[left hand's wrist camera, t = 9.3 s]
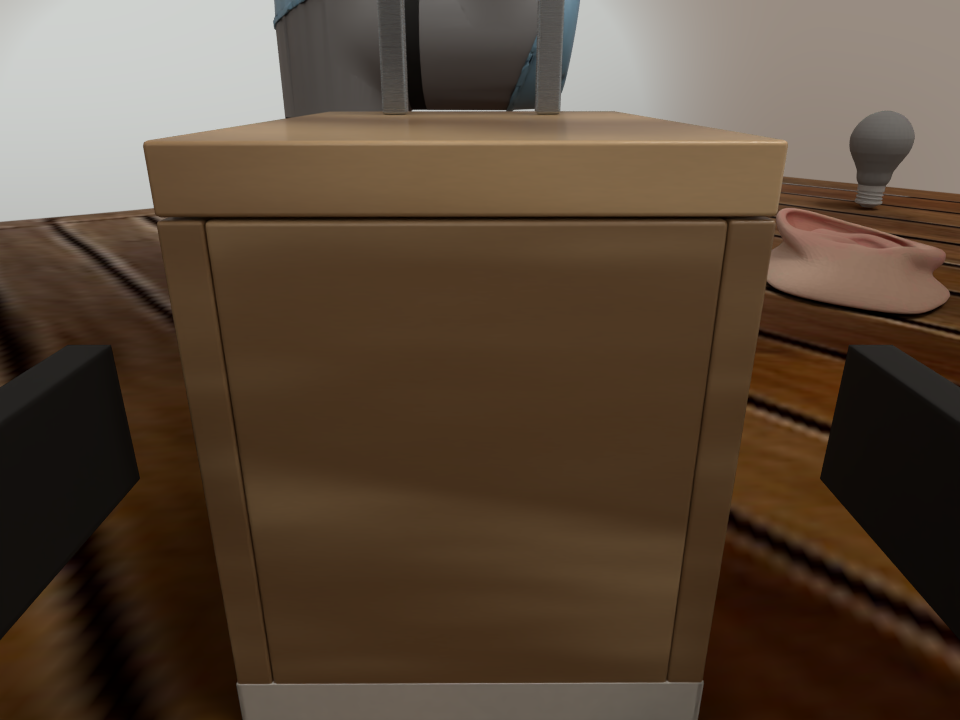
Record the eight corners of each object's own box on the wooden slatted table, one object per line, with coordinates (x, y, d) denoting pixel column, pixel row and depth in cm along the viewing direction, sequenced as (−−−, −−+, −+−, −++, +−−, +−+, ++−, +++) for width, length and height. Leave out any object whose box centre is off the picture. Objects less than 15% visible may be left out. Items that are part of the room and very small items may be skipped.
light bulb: (849, 210, 73) (869, 111, 69) (829, 202, 79) (846, 109, 75) (908, 211, 72) (931, 112, 69) (884, 203, 78) (904, 110, 74)
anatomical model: (987, 253, 37) (761, 236, 41) (968, 322, 38) (751, 299, 43) (942, 214, 48) (768, 204, 52) (928, 268, 50) (760, 254, 54)
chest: (348, 436, 26) (324, 150, 22) (598, 436, 26) (618, 150, 22) (242, 723, 14) (153, 221, 11) (697, 720, 15) (778, 220, 11)
